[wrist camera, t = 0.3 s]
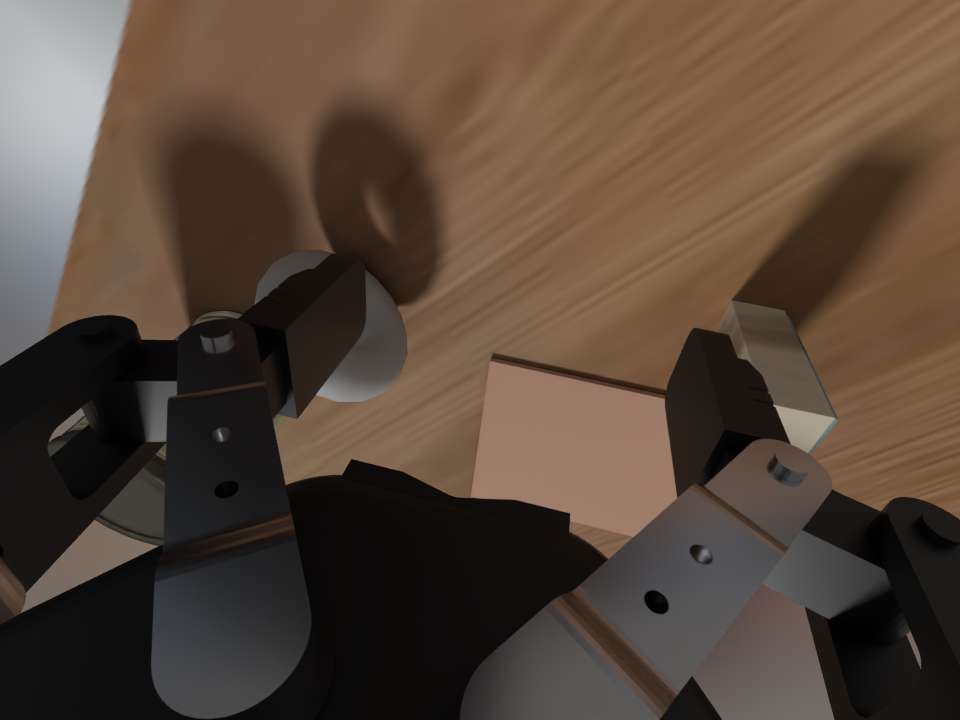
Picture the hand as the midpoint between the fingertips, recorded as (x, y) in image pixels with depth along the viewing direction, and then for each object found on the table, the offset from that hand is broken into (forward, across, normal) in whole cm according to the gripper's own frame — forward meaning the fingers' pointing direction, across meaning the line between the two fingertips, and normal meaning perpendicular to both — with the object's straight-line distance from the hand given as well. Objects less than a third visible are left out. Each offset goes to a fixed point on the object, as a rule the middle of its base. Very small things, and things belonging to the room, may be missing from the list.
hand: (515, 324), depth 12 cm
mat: (+19, -8, +22) cm, 30 cm away
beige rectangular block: (+18, -12, +9) cm, 24 cm away
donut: (+18, +12, +10) cm, 24 cm away
